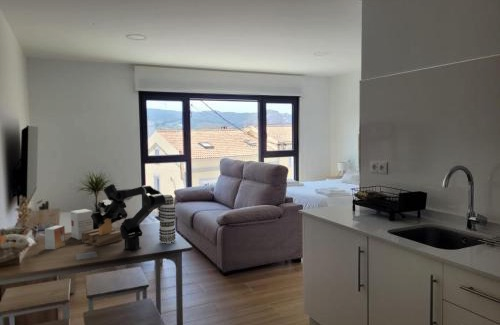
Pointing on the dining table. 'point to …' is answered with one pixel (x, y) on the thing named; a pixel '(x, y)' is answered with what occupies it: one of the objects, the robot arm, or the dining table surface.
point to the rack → (100, 237)
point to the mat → (86, 255)
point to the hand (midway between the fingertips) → (103, 225)
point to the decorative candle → (167, 220)
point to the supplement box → (81, 222)
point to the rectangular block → (105, 227)
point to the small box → (55, 237)
